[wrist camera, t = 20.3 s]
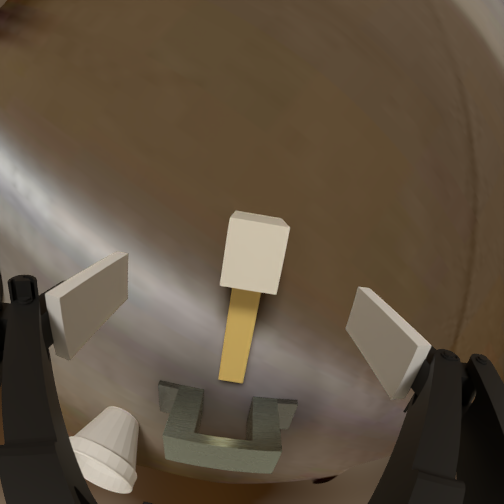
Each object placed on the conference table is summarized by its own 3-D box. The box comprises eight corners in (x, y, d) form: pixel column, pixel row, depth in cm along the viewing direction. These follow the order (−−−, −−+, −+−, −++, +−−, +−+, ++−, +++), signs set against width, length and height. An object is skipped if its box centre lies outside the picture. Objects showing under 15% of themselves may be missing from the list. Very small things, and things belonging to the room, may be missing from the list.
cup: (115, 386, 35) (79, 445, 22) (167, 432, 38) (148, 493, 24) (81, 404, 37) (50, 451, 24) (128, 444, 39) (107, 494, 26)
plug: (213, 364, 34) (205, 399, 27) (235, 210, 29) (230, 217, 22) (250, 370, 34) (250, 406, 27) (281, 218, 29) (289, 227, 22)
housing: (161, 406, 36) (144, 453, 26) (160, 380, 35) (138, 428, 25) (287, 424, 36) (293, 473, 27) (297, 400, 35) (306, 451, 25)
